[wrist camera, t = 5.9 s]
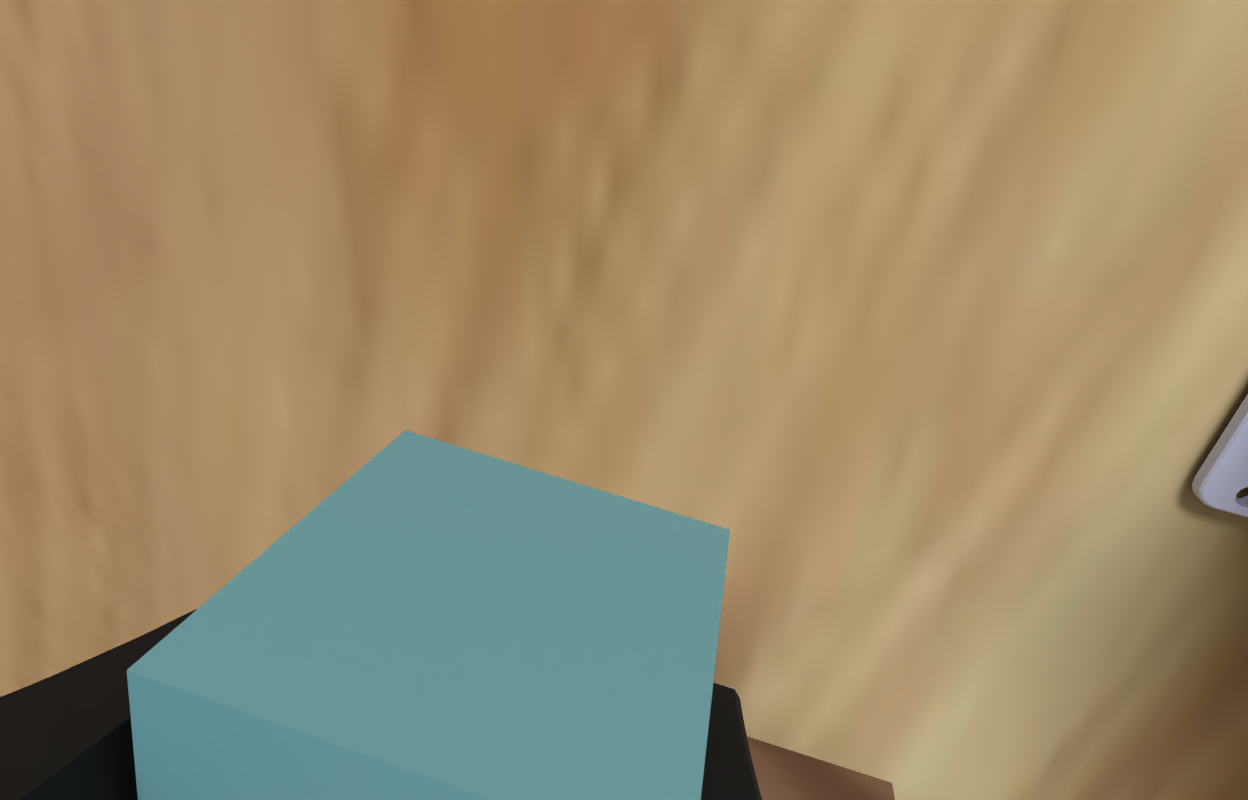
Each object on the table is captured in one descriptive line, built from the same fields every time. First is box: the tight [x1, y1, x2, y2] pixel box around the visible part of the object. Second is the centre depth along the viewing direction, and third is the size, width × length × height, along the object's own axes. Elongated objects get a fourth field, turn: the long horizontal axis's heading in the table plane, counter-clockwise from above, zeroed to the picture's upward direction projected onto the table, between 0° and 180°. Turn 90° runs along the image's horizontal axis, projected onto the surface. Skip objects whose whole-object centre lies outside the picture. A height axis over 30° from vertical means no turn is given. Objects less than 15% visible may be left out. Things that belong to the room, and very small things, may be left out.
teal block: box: [127, 430, 730, 800], centre depth 9 cm, size 5×5×5 cm
